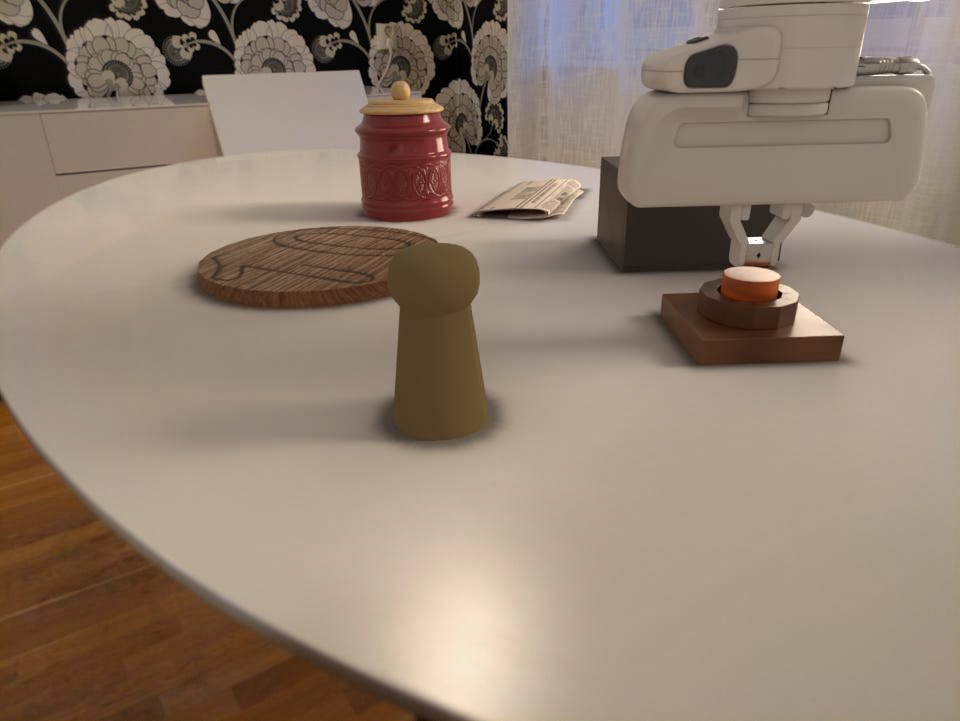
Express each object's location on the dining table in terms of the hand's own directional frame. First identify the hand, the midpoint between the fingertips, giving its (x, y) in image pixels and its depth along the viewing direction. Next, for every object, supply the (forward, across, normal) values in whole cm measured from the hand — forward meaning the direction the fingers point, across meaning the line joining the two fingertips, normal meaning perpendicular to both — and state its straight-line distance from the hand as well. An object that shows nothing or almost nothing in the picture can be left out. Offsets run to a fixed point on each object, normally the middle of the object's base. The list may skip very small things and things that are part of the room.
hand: (751, 264), depth 49 cm
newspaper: (+6, +10, -53) cm, 54 cm away
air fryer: (+6, -2, -24) cm, 25 cm away
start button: (+3, 0, 0) cm, 3 cm away
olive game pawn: (+6, +23, +11) cm, 26 cm away
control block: (+6, 0, 0) cm, 6 cm away
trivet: (+6, +36, -22) cm, 43 cm away
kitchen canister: (+6, +29, -49) cm, 57 cm away
